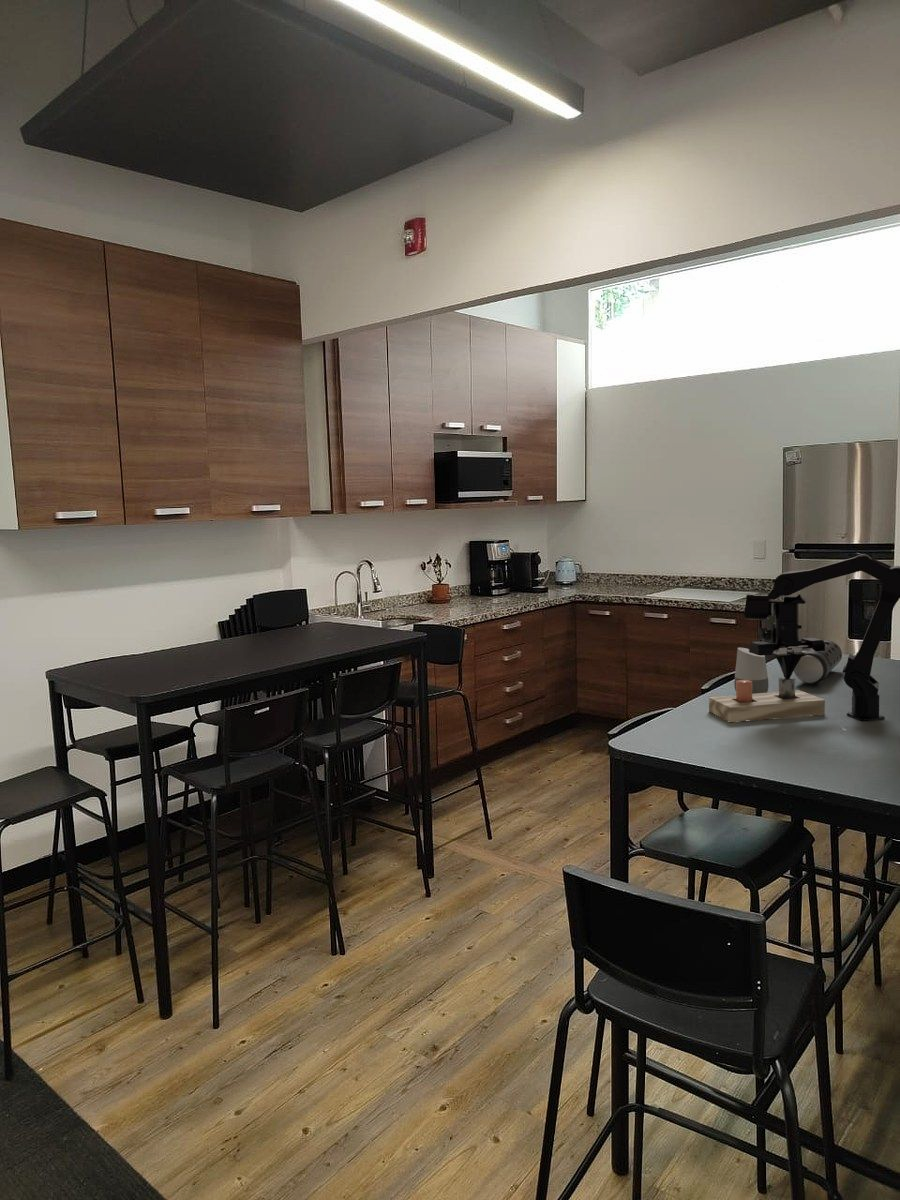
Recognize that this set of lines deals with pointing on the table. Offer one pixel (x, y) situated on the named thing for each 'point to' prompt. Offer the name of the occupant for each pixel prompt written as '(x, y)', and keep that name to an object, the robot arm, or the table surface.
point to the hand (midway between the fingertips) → (787, 678)
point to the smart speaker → (752, 670)
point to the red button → (743, 691)
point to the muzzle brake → (818, 663)
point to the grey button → (786, 688)
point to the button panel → (766, 706)
